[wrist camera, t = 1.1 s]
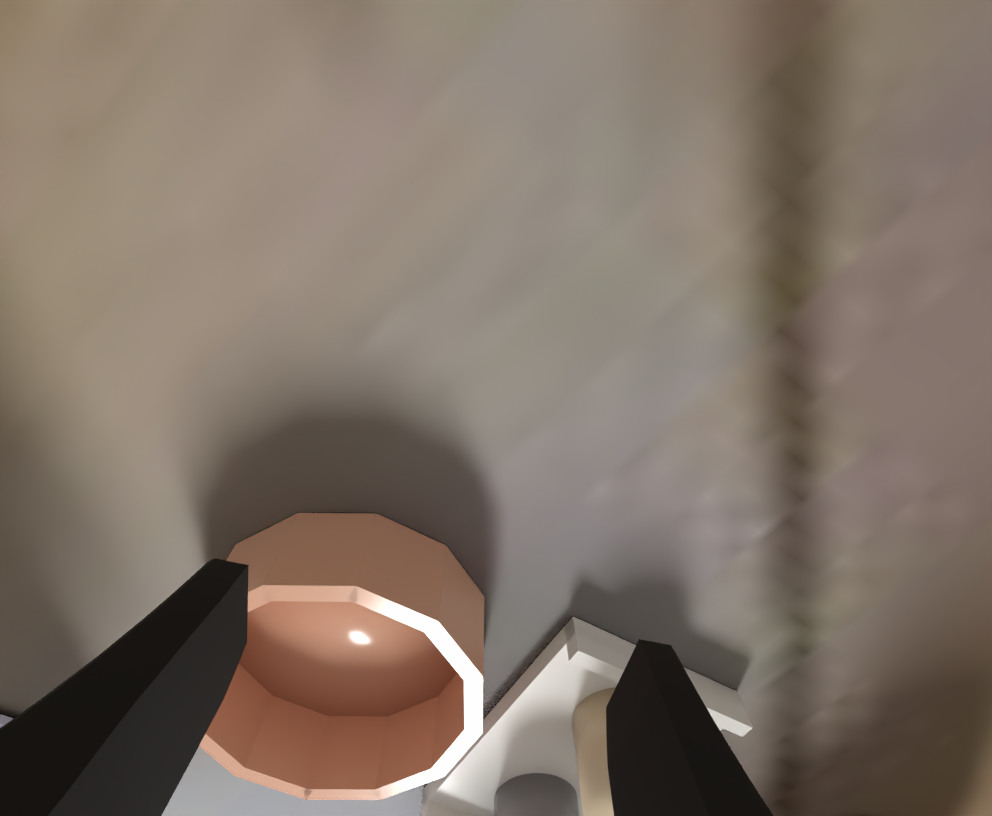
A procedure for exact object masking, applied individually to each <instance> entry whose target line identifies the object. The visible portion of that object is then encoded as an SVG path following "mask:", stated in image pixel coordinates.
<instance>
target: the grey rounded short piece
mask: <svg viewBox="0 0 992 816" xmlns="http://www.w3.org/2000/svg"><path fill="white" fill-rule="evenodd" d="M494 816H580V814H579V806H578V798H577V793H576V790H575V789H574V787H573V786H572V785H571V784H570V783H569V782H567V781H566V780H564V779H562V778H560V777H558V776H555V775H550V774H544V773H530V774H524V775H520V776H516V777H514V778H511V779H509V780H508V781H506V782H505V783H503V784H502V785H501V786H500V787H499V788H498V789H497V791H496V793H495V796H494Z"/></svg>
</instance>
